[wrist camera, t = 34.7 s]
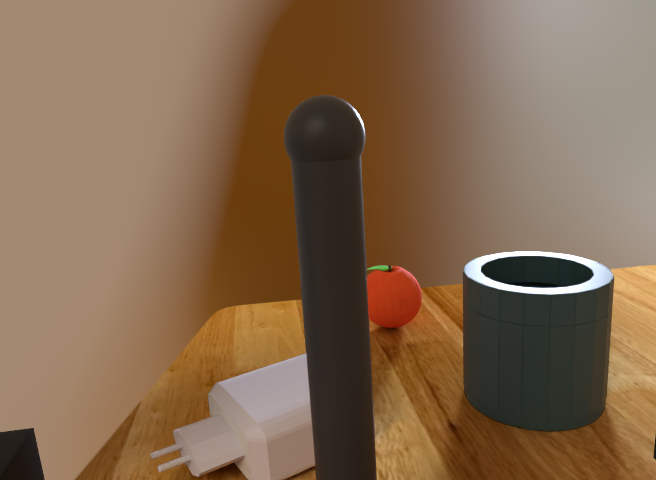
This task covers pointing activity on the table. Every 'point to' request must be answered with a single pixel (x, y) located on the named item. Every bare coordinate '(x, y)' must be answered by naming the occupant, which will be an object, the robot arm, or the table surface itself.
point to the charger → (252, 426)
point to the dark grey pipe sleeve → (537, 338)
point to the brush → (333, 283)
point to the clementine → (392, 296)
